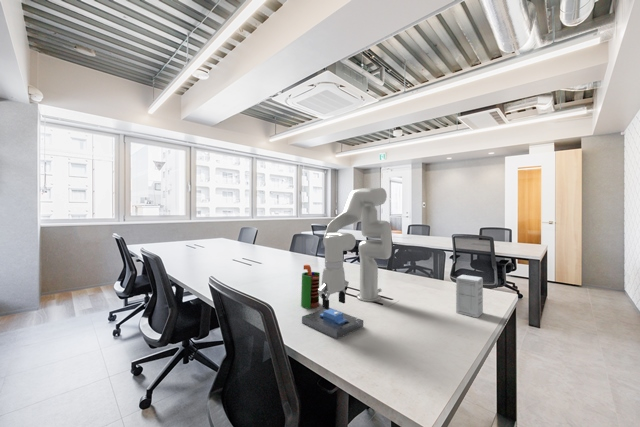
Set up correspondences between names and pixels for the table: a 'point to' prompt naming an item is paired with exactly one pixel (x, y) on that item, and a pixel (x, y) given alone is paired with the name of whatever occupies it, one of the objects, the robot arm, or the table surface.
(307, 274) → the motor
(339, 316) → the servo
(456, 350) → the table surface
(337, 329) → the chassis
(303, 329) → the table surface
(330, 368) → the table surface
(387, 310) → the table surface
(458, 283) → the supplement box
